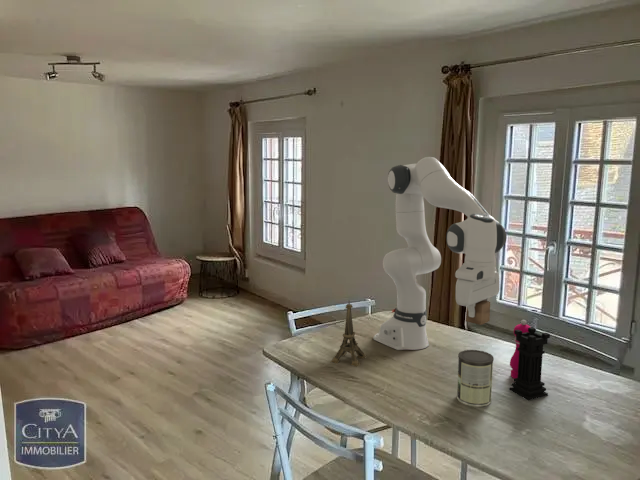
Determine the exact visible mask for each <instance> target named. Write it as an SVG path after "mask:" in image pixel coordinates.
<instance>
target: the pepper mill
mask: <svg viewBox="0 0 640 480" xmlns="http://www.w3.org/2000/svg"><path fill="white" fill-rule="evenodd" d="M530 327H531V325H529V324H527V320H525V319H522V320H521V321H520V324H517V325H515V326H514V328H513V332H514V331H515V330H521V331H522V333H525V332H528V328H530ZM513 335H514V336H515V337H514V343H515V350H514V353H513V354H512V356H511V358H510V361H509V366H510V368H511V370H510V377H511V378H513V380H514V379H515V378H518V362H519V351H518V350H517V348H519V345H520V342H519V341H517V340H516V334H514V333H513Z"/></svg>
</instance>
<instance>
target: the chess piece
mask: <svg viewBox="0 0 640 480" xmlns="http://www.w3.org/2000/svg"><path fill="white" fill-rule="evenodd" d="M514 334H516V336H515V337H516V340H517V341H519V342H520V345H519V348H517V350H518V351H519V362H518V378H515V379H514V378H513V382H511V387H509V388H508V389H509V391H511V392H512V393H514V394H516V395H518V396H520V398H522V399H525V400H526V401H528V402H529V401H532V400H536V399H540V398H544V397H547V396H549V393H548V392H546V391H547V387H544V386H545V385H546V384H545V382H543V381H542V371H543V370H542V366H543V355H544V354H545V353H546V351H545V350H544V345H548V341H549V340H548V339H550V337H551V334H550V333H548V332H542V333H541V334H539V333H538V332H537V329H536V328H535V327H532V326H530V328H528V332H525V333H522V331H521V330H515V331H514V330H513V335H514Z"/></svg>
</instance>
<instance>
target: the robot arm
mask: <svg viewBox="0 0 640 480" xmlns="http://www.w3.org/2000/svg"><path fill="white" fill-rule="evenodd" d="M387 184H388V187H389V189H390V191H391V192H392V193H394V194H396V195H395V225H396V227H395V228H396V232H397V234H398V235H399V236H400V237H401V238H404V239H405V242H406V244H407V247H405V248H404V247H403V248H396V249H394V250H391V251H390V252H389V251H388V252H387V253H386V254H385V255H384V257H383V259H382V267H383V270H384V272H385V274H386V275H388V276H389V277H390V278H391V279H392V281H393V283H394V284H395V288H396V296H397V297H396V303H397V304H396V305H397V307H395V308H394V309H391V313H393V316H392V317H390V318H389V319H387V320H385V321H384V322H382V323H381V325H380V327H379V332H377V333H376V334H374V335H373V341H376V342H379V343H381V344H383V345H385V346H387V347H390V348H392V349H394V350H396V351H402V350H413V351H414V350H415V351H417V350H422V349H426V348H428V347H429V345H430V343H429V339H428V335H427V325H426V324H427V309H426V307H427V306H426V305H427V304H426V303H427V292H426V289H425V288H424V287H423V286H422V285H420V284H419V283H418V279H417V276H418V275H424V274H429V273H431V272H434V271H436V270H438V269H439V268H440V266H441V264H442V255H441V252H440V251H439V249H438V248H437V247H435V246H434V245H433V244H432V242H431V241H430V240H431V239H430V238H429V236H428V233H427V228H426V215H425V214H426V213H425V202H424V199H425V200H426V202H427V203H429V204H430V205H431V206H434V207H436V208H442V209H448V210H453V211H457V212H460V213H462V214H464V215H465V216H466V217H467V218H466V219H465V220H462V221H460V222H455V223H453V224H451V225H450V226H449V227H448V229H447V231H446V234H445V242H446V246H447V248H449V250H450V251H451V252H453V253H456V254H464V263H462V264H461V266H460V267H459V268H457V270H456V271H455V273H454V277H455V278H456V283H455V302H456V304H457V306H458V305H459V306H463V307H466V306H467V309H468V311H469V313H468V315H469V317H472V318H473V317H475V316H476V311H475V308H474V307H475V303H477V302H480V301H482V300H484V301H489V302H491V301H490V299H491V298H492V297H495V296H497V295H498V294H499V292H500V274H499V272H498V269H497V265H496V264H497V259H496V254H497V253H498V252H500V250H501V249H503V248H504V246H505V244H506V242H507V239H508V237H507V232H506V230H505V228H504V226H503V224H502V223H500V222H499V221H498V220H496V219H495V218H494V217H493V216H492V215H491V214H490V213H489V212H488V211H487V210H486V209H485V207H484V206H483V205H482V204H481V202H480V201H479V200H478V199H477V198H476V197H475V196H474V195H473V193H471V192H470V191H469V190H467V189H466V188H464V187H462V186H461V185H460V184H459V183H457V182H456V181H455V179H453V178H452V177H451V174H450V173H449V171H448V169H446V167H445V166H444V165H443V164H442V163H441V162H440V160H438V159H437V158H436V157H432V156H425V157H423V158H421V159H419V160H418V161H417V162H416V163H410V164H404V165H403V164H399V165H395V166H392V167H391V169H389V170H388V174H387Z"/></svg>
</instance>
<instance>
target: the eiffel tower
mask: <svg viewBox="0 0 640 480" xmlns="http://www.w3.org/2000/svg"><path fill="white" fill-rule="evenodd" d="M352 308H353V304H351V303H350V301H348V303H347V304H346V305H345V309H346V317H345V324H344V325H345V326H344V333H343V334H342V337H343V339H342V343H341V345H339V347H340V348H339V349H338V351H337V353H336V354H335V355H334V357H333V358H332V359H331V361H330V363H331V362H334V363H333V364H339V362H340V361H341V357H342V355H344V356H347V354H348V353H349V354H350V355H351V363H350V366H351V365H354V366H353V367H357V366H358V367H360V365H361V363H360V361H359V359H363V358H364V359H366V358H367V357H368V356H367V355H366V354H365V353H364V352H363V350H362V349H361V348H360V347H359V345H358V343H357V341H356V338H355V335H356V332H355V331H354V325H353V317H352V316H353V315H352ZM348 341H349V342H348ZM355 353H356V354H357V356H356V354H355ZM365 357H366V358H365Z"/></svg>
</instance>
